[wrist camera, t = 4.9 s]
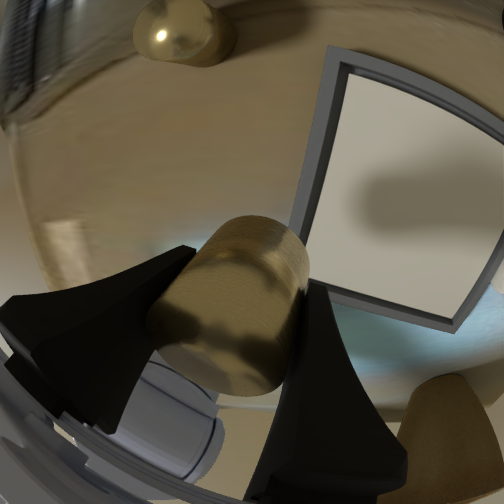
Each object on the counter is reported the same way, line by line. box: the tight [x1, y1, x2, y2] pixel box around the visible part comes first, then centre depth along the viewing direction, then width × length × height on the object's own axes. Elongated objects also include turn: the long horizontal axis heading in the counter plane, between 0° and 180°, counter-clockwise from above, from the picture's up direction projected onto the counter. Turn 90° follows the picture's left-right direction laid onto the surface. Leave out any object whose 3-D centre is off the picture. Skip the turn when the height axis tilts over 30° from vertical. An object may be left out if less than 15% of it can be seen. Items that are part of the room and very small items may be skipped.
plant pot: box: [377, 374, 504, 504], centre depth 17 cm, size 15×15×16 cm
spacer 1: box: [133, 0, 238, 68], centre depth 12 cm, size 4×4×5 cm
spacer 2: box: [145, 215, 310, 397], centre depth 9 cm, size 4×4×5 cm
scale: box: [288, 45, 504, 334], centre depth 13 cm, size 16×17×5 cm
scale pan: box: [305, 74, 504, 319], centre depth 14 cm, size 13×13×1 cm
